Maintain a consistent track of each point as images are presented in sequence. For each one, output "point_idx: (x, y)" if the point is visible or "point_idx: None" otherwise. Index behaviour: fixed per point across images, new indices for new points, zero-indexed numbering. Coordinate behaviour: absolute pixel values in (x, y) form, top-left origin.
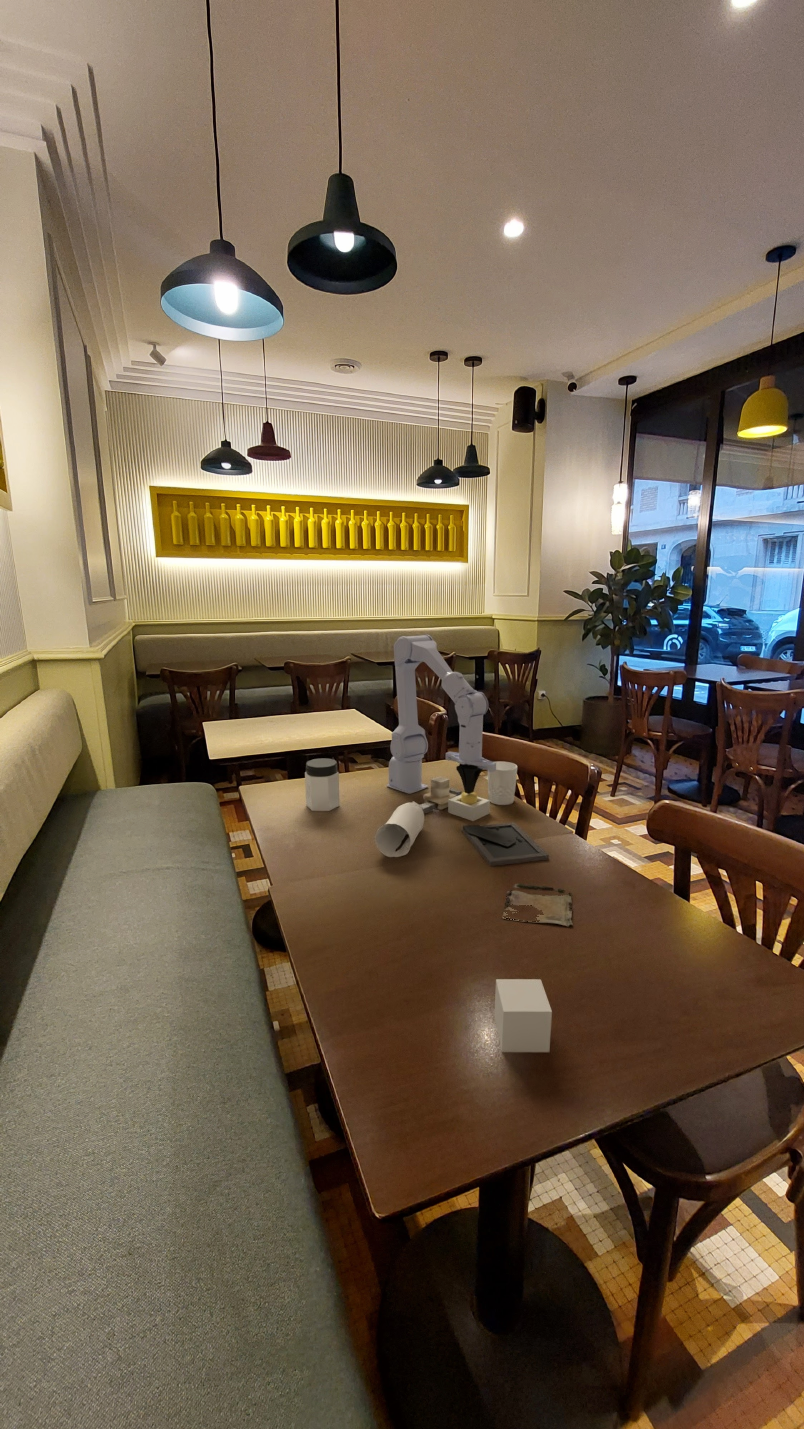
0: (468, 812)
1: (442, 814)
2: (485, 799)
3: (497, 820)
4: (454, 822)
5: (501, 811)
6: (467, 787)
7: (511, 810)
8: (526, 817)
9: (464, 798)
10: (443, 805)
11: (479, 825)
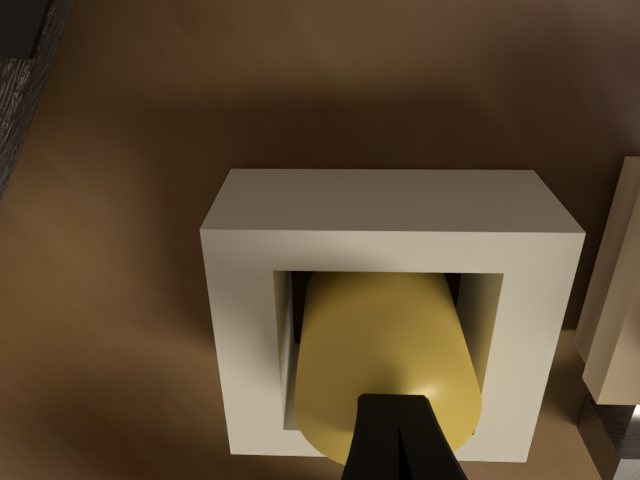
0: (278, 198)
1: (558, 95)
2: (275, 449)
3: (117, 306)
4: (337, 16)
5: (219, 431)
6: (374, 456)
7: (187, 473)
8: (44, 447)
9: (386, 317)
10: (629, 210)
11: (5, 45)
